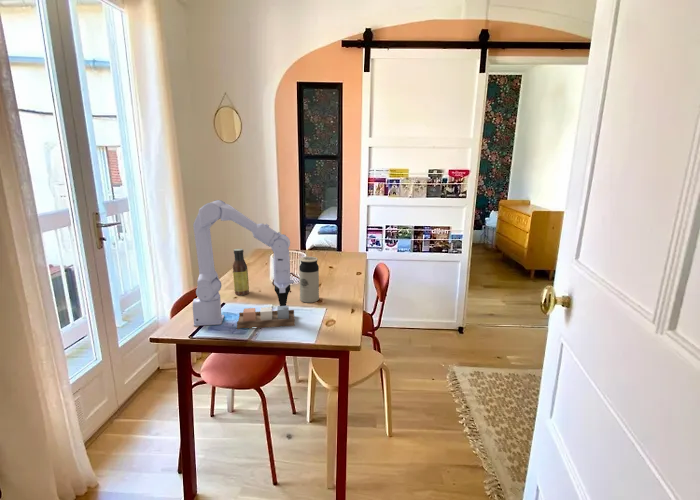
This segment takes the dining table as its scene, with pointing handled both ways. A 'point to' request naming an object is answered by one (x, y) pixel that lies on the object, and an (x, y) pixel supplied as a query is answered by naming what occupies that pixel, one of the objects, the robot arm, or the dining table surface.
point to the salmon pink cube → (249, 314)
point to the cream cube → (266, 313)
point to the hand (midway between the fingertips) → (283, 305)
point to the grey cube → (283, 312)
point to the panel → (266, 321)
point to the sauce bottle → (240, 273)
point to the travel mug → (309, 279)
